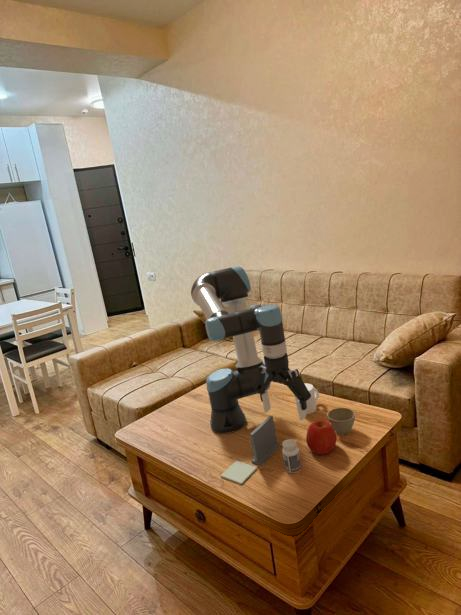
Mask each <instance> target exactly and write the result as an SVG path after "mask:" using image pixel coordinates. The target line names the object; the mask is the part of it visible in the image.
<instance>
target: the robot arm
mask: <svg viewBox="0 0 461 615" xmlns="http://www.w3.org/2000/svg"><path fill="white" fill-rule="evenodd" d="M251 290H252V288H251V282H250V279H249V276H248V274H247V273H246V270H245V269H244V268H243V267H242V266H232V267H228V268H223V269H218V270H214V271H209V272H205V273H203V274H202V275H200V276H199V277H197V278H196V279H195V281H194V282H193V284H192V285H191V290H190V296H191V298H192V301H193V303H194V304H196V305H197V306H199V308H200V310H201V311H202V313H203V315H204V316H205V318H206V320H205V322H204V325H205V332H206V334H207V338H208V339H209V340H210V341H211V342H217V341H223V340H225V339H229V338H231V337H232V340H233V345H234V348H235V349H234V350H235V352H236V359H237V363H236V364H235V369H236V370H232V369H231V368H228V367H227V368H221V369H217V370H215V371H213V372H211V373H210V374H209V375H208V376H207V378H206V380H205V383H206V390H207V393H208V398H209V404H210V407H211V408H210V409H211V412H210V414H211V415H210V422H209V424H210V428H211V430H212V431H213V432H214V433H217V434H231V433H234V432H237V431H238V430H240V429H242V428H244V426H245V425H246V423H247V419H246V415H245V412H244V411H243V410H242V407H241V406H240V404H239V400H240V399H243V398H247V397H250V396H253V395H258V394H259V396H260V397H259V398H260V402H262V406H263V411H264V413H268V411H270V410H271V402H270V396H269V391H268V390H269V389H271V388H270V387H271V383H272V381H273V382H274V383H280V384H283V385H284V386H286V387H287V388H288V389H289V390H290V391H291V393H293V395H294V397H295V396H296V397H297V398H298V399H299V400H298V401H297V403H298V409H299V412H298V415H299V420H300V421H304V419H305V418H306V417H307V414H306V411H305V409H306V408H307V403H306V401H307V400H308V399H309V398H310V397H311V394H310V393H309V391H308V389H307V387H306V386H305V384H304V383H305V382H304V381H303V379H302V377H301V376H300V372H299V370H298V369H297V368H295V369H294V370H293V369H290V368H289V365H290V364H289V362H290V361H289V357H288V356H289V355H288V353H287V352H288V349H287V348H288V347H287V344H286V336H285V330H284V324H283V315H282V311H281V308H280V306H278V305H274V304H268V305H267V304H266V305H261V304H252V305H251V306H250V307H248V306H247V300H248V298H249V295H248V294H249V293H250V292H252V291H251ZM256 331H258V333H259V337H260V343H261V348H262V354H263V359H262V358H261V357H259V355H258V351H257V347H256V341H255V337H254V336H255V335H254V333H253V332H256ZM263 361H264V362H263ZM301 396H302V397H301Z"/></svg>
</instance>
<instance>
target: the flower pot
mask: <svg viewBox="0 0 461 615" xmlns="http://www.w3.org/2000/svg"><path fill="white" fill-rule="evenodd" d="M327 418H328V422H329V423H330V424H331V425H332V427H333V428H334V430H335V432H336V434H337V435H338V434H339V435H344V436H345V435H347V434H349V433H350V432H351V430H352V429H353V426H354V424H355V420H356V419H355V418H356V413H355V411H354V410H353V409H351V408H348V407H337V408H333V409H331V410H329V411H328V412H327Z"/></svg>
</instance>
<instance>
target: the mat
mask: <svg viewBox="0 0 461 615" xmlns="http://www.w3.org/2000/svg"><path fill="white" fill-rule="evenodd" d="M257 469H258V467H257V466H254V465H251V464H248V463H245V462H242V461H238V460H235V462H233V463H232V464H231V465H230V466H229V467H228V468H227V469H226V470H225V471H224V472H223V473H222V474H221V475H220V477H221V478H222V479H226V480H229V481H231V482H233V483H236V484H239V485H243V484H244V483H245V482H246V481H247V480H248V479H249V478H250V477H251V476H252V475H253V473H255V471H256V470H257Z"/></svg>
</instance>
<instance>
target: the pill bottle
mask: <svg viewBox="0 0 461 615" xmlns="http://www.w3.org/2000/svg"><path fill="white" fill-rule="evenodd" d="M282 447H283V448H282V449H281V450H282V458H283V463H284V469H285V471H286V472H288V473H289V474H296V473H299V472H301V471H302V468H303V466H302V465H303V464H302V459H301V453H300V448H299V447H298V445H297V441H296V440H295V439H293V438H288V439H285V440H284V441H282Z"/></svg>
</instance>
